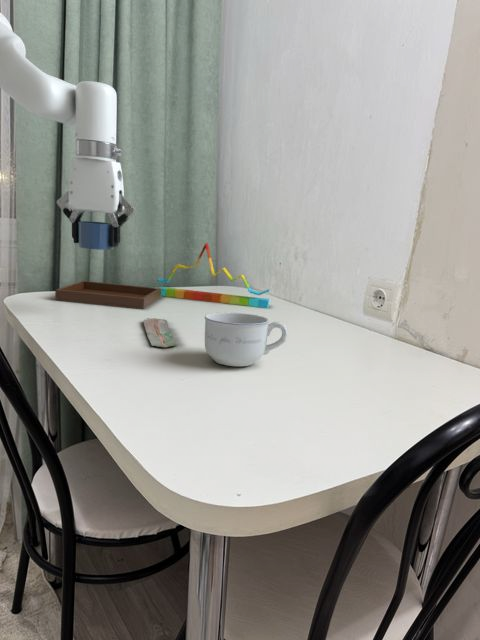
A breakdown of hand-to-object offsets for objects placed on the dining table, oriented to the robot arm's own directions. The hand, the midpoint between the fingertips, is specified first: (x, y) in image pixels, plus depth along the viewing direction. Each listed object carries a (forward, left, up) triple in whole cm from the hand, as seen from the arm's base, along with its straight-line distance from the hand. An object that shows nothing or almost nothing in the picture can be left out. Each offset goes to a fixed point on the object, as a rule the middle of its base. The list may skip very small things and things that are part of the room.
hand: (96, 243), depth 104 cm
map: (+16, -9, -16) cm, 24 cm away
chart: (+20, +30, -16) cm, 39 cm away
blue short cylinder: (0, 0, -1) cm, 1 cm away
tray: (-4, +19, -15) cm, 25 cm away
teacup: (+34, -22, -16) cm, 43 cm away
